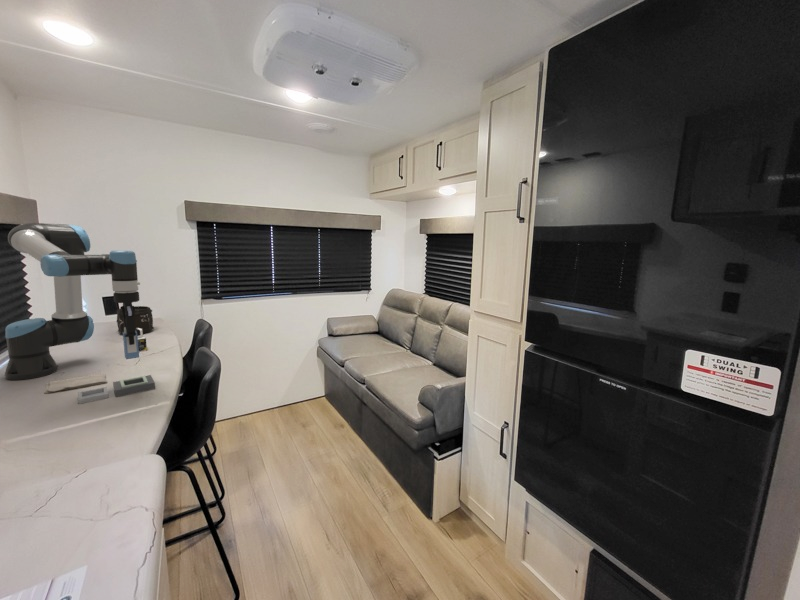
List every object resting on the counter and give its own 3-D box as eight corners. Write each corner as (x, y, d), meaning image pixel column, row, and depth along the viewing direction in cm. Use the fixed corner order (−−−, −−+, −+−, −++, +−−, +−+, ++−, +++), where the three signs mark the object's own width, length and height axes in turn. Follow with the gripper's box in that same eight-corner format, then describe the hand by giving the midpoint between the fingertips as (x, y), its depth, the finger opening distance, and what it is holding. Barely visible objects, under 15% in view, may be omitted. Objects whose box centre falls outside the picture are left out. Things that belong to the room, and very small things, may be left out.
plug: (126, 359, 126) (123, 329, 124) (124, 356, 129) (122, 327, 127) (139, 357, 129) (136, 327, 127) (137, 354, 132) (135, 325, 130)
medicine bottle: (130, 353, 172) (128, 331, 171) (126, 350, 177) (124, 328, 175) (147, 350, 178) (145, 328, 176) (142, 347, 182) (141, 326, 180)
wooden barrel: (125, 329, 216) (123, 305, 214) (157, 328, 221) (155, 305, 219) (111, 336, 199) (108, 311, 197) (146, 335, 205) (144, 310, 202)
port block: (116, 399, 123) (115, 389, 123) (113, 390, 130) (112, 380, 130) (155, 390, 132) (154, 381, 131) (151, 382, 139) (150, 373, 138)
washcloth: (46, 388, 131) (45, 380, 130) (106, 377, 143) (106, 370, 143) (43, 398, 122) (42, 391, 122) (108, 386, 135) (107, 379, 134)
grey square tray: (78, 406, 117) (78, 399, 117) (78, 398, 123) (77, 392, 122) (108, 399, 123) (108, 393, 122) (107, 392, 128) (106, 386, 128)
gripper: (141, 293, 121) (146, 354, 125) (135, 288, 133) (140, 344, 137) (115, 295, 116) (121, 358, 120) (111, 289, 128) (116, 347, 132)
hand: (131, 350), depth 128 cm, fingers closed on plug, 4 cm apart
